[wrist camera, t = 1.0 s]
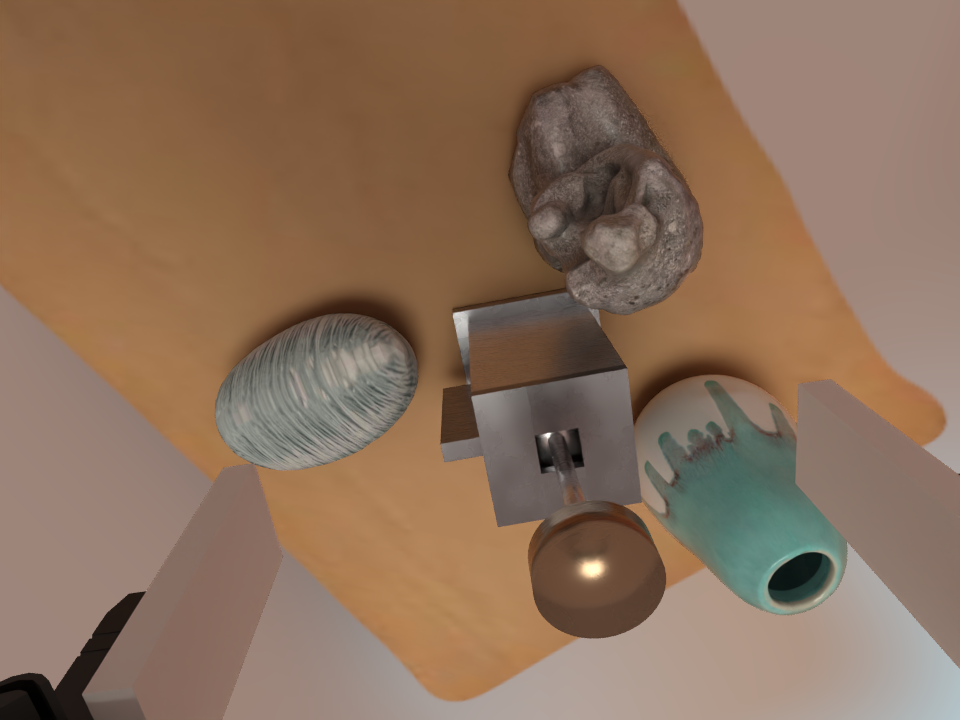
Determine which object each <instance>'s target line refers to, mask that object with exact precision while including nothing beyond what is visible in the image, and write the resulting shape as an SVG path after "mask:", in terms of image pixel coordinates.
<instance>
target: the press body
mask: <svg viewBox="0 0 960 720" xmlns="http://www.w3.org/2000/svg"><path fill="white" fill-rule="evenodd" d="M453 318H454V323H455V327H456V332H457V337H458V342H459V347H460V352H461V357H462V362H463V367H464V371H465V376H466V381H467V385H462V386H456V387H450V388H445V389H443V403H442V423H441V443H440V444H441V449H442V453H443V457H444V462H449V461H455V460H461V459H466V458H472V457H478V456H484V461H485V466H486V471H487V476H488V481H489V486H490V491H491V495H492V500H493V505H494V510H495V515H496V520H497V525H498V527H501V526H507V525H513V524H519V523H524V522H530V521H536V520H542V519H546V518H547V517H549V516H550V515H551V514H552V513H554V512H556V511H557V510H559V509H561V508H563V507H565V505H564V501H563V497H562V493H561V490H560V486H559V482H558V478H557V475H556V471H555V467H554V466H552V467H546V468H540V465H539V459H538V453H537V447H536V441H535V435H541V434H546V433H552V432H558V431H563V430H569V429H575V428H578V433H579V440H580V447H581V454H582V461H580V462H575V463H574V467H575V470H576V473H577V476H578V479H579V482H580V485H581V488H582V491H583V494H584V497H585V501H588V500H602V501H609V502H613V503H617V504H619V505H622V506H623V505H629V504H635V503H641V502H642V497H641V488H640V479H639V470H638V461H637V452H636V443H635V434H634V425H633V416H632V407H631V398H630V389H629V380H628V371H627V367H626V366H625V364H624V363H623V361H622V360H621V358H620V356H619V355H618V353H617V352H616V350H615V349H614V347H613V346H612V344H611V342H610V341H609V339H608V338H607V336H606V335H605V333H604V332H603V330H602V328H601V326H600V318H599V310H598V309H591V308H587V307H585V306H582V305H580V304H578V303H577V302H576V301H575V300H573V299H572V298H571V297H570V295H569V293H568V291H567V289H566V288H565V289H560V290H554V291H549V292H543V293H538V294H532V295H527V296H522V297H516V298H511V299H505V300H500V301H494V302H489V303H484V304H478V305H473V306H467V307H462V308H456V309H453Z"/></svg>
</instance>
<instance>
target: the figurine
mask: <svg viewBox="0 0 960 720" xmlns="http://www.w3.org/2000/svg"><path fill="white" fill-rule="evenodd" d="M516 134H517V139H518V142H517V145H516V148H515V152H514V155H513V161H512V164H511V167H510V170H509V174H508V175H509V179H510V181H511V183H512V185H513V188H514V191H515V194H516V197H517V200H518V202H519V204H520V206H521V209H522V211H523V213H524V215H525V217H526V218H527V220H528V222H527V224H528V228H529V231H530V233H531V234H532V236H533V237H534V243H535V247H536V249H537V251H538V253H539V254H540V256H541V257H542V259H543V260H544V261H546V262H547V264H549V265H550V266H552V267H553V268H554V269H556V270H559V271H560V272H562V273H564V275H565V286H566V289H567V291H568V293H569V295H570V297H571V298H572V299H573V300H575V301H576V302H577V303H578V304H580V305H582V306H585V307H587V308H591V309H603V310H605V311H607V312H610V313H614V314H620V315H629V314H632V313H635V312H637V311H640V310H642V309H645V308H648V307H650V306H653V305H656V304H658V303H660V302H662V301H664V300H665V299H667V298H668V297H669V296H671V295H672V294H673V293H674V292H675V291H676V290H677V289H678V288H679V287H680V285H681V284H682V283H683V282H684V280H685V279H686V277H687V276H688V275H689V274H690V273H691V272H693V271H694V270H695V269H696V267H697V264H698V262H699V260H700V258H701V249H702V247H703V222H702V218H701V215H700V210H699V205H698V203H697V201H696V199H695V197H694V196H693V195H692V193H691V190H690V188H689V187H688V185H687V183H686V181H685V179H684V177H683V175H682V174H681V172H680V171H679V170H678V169H677V167H676V166H675V164H674V163H673V161H672V159H671V158H670V156H669V155H668V153H667V152H666V151H665V150H664V148H663V147H662V146H661V144H660V143H659V142H658V140H657V138H656V136H655V135H654V133H653V132H652V131H651V129H650V128H649V127H648V125H647V122H646V120H645V119H644V117H643V116H642V114H641V113H640V112H639V110H638V108H637V107H636V105H635V104H634V102H633V101H632V100H631V99H630V97H629V96H628V95H627V93H626V92H625V90H624V89H623V88H622V86H621V85H620V83H619V82H618V80H617V79H616V78H615V77H614V76H613V75H612V74H611V73H610V72H609V71H608V70H607V69H606V68H605V67H604V66H602V65H597V66H594V67H591V68H588V69H586V70H584V71H582V72H580V73H579V74H578V75H576V76H575V77H574V78H573V79H571V80H570V81H569V82H567V83H558V84H554V85H550V86H548V87H545V88H543V89H541V90H539V91H537V92H536V93H534V94H533V96H532V98H531V100H530V102H529V104H528V107H527V109H526V111H525V113H524V116H523V118H522V120H521V122H520V124H519V127H518V129H517V132H516Z"/></svg>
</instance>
